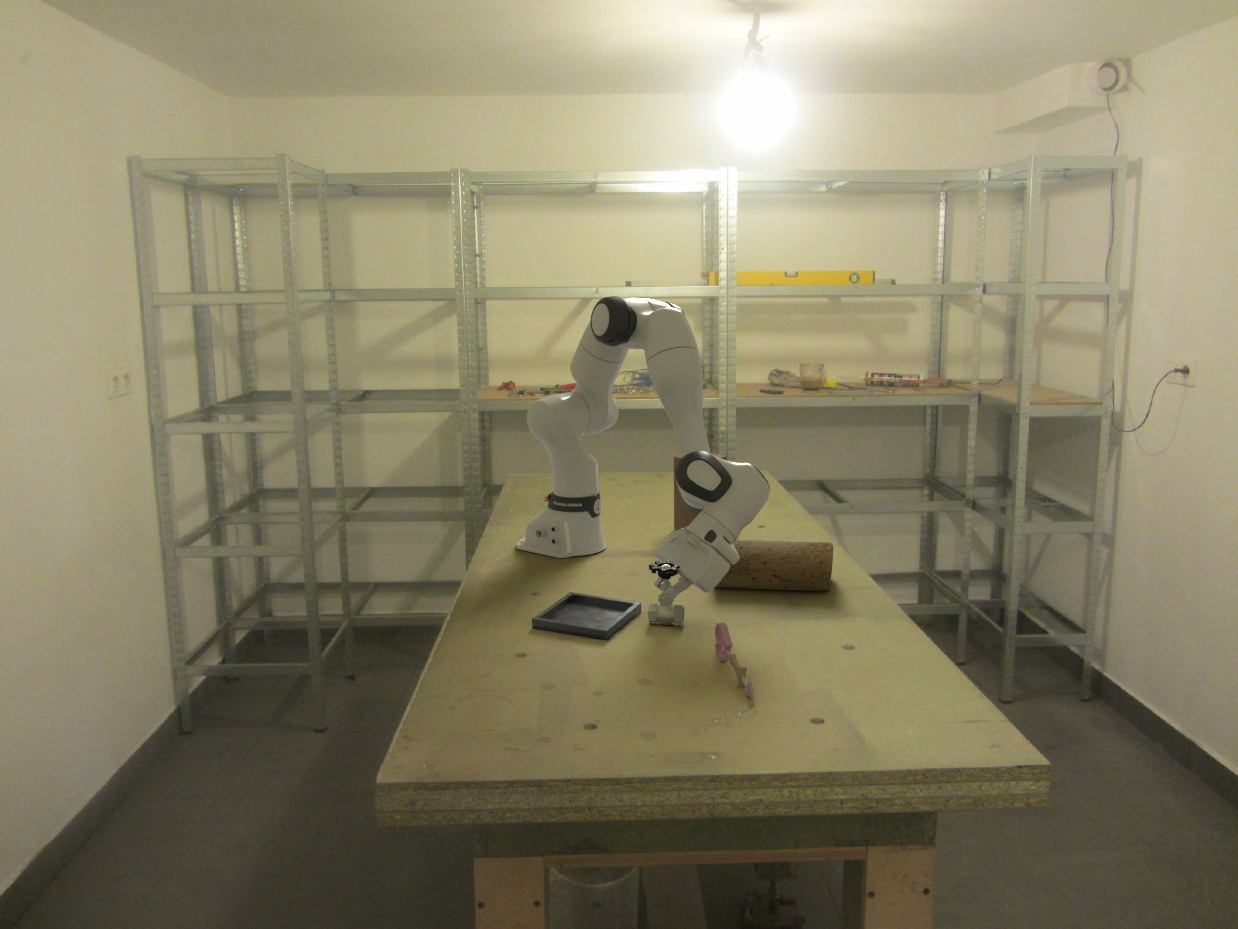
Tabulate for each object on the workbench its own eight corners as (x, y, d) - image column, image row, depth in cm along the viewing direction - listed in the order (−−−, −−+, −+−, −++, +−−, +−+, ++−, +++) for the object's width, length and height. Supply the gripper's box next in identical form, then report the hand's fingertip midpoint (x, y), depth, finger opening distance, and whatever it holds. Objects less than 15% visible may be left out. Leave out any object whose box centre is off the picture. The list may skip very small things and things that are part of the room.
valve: (680, 631, 172) (680, 571, 169) (646, 629, 173) (645, 569, 171) (685, 618, 178) (685, 560, 176) (652, 616, 179) (651, 558, 177)
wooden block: (700, 538, 232) (700, 461, 228) (673, 530, 239) (672, 456, 235) (727, 530, 239) (727, 456, 234) (699, 523, 246) (699, 450, 242)
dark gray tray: (532, 628, 174) (531, 618, 174) (570, 601, 189) (570, 592, 188) (607, 641, 168) (606, 631, 167) (641, 611, 182) (641, 602, 182)
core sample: (712, 572, 206) (712, 530, 204) (831, 576, 202) (833, 533, 200) (708, 593, 192) (708, 548, 190) (836, 598, 188) (837, 552, 186)
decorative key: (749, 720, 143) (713, 651, 162) (757, 719, 144) (720, 650, 162) (752, 684, 141) (715, 618, 159) (760, 683, 141) (722, 617, 159)
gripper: (675, 514, 184) (632, 566, 182) (723, 541, 165) (674, 599, 164) (695, 533, 186) (652, 584, 185) (744, 561, 167) (696, 619, 166)
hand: (663, 592), depth 174 cm, fingers closed on valve, 4 cm apart
